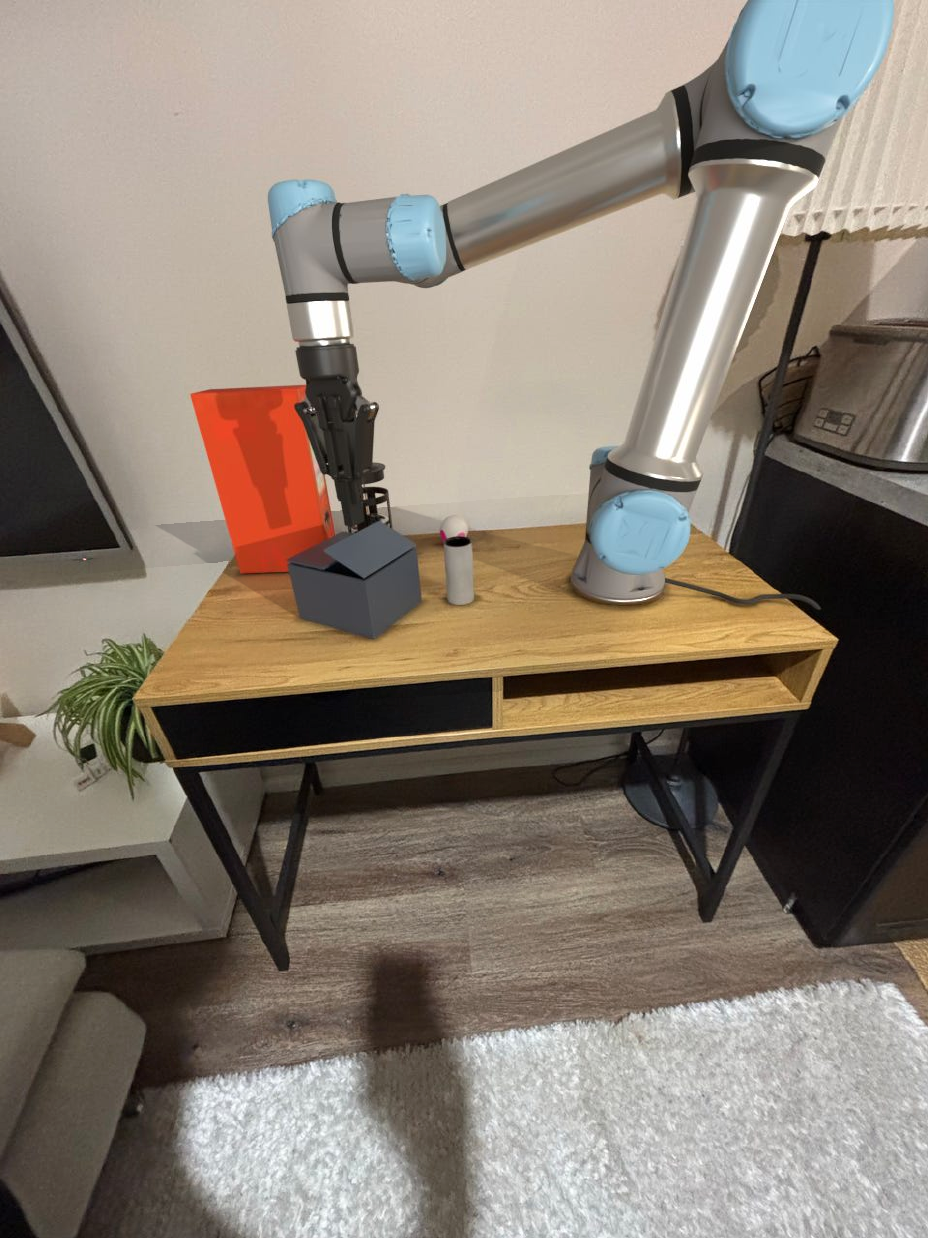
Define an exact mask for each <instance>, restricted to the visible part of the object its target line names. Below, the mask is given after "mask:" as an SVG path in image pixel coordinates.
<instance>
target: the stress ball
mask: <svg viewBox="0 0 928 1238" xmlns="http://www.w3.org/2000/svg"><path fill="white" fill-rule="evenodd" d="M438 531H439V536H440V538H441V540H442V541H443V542H444V541H445V540H446V539H447V538H450V537H455V536H463V537H468V534H469V525H468V523H467V521H466V519H464V518H463V516H461V515H455V514H454V515H449V516H447V517H446V518H444V519H443V520H442V521H441V522H440V525H439V530H438ZM443 542H439V543H437V545H440V544H443Z"/></svg>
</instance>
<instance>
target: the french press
mask: <svg viewBox="0 0 928 1238" xmlns="http://www.w3.org/2000/svg"><path fill="white" fill-rule="evenodd" d="M385 469H386V465H385V464H384V463H381V462H372V473H371V474H368V475H366V476H364V477H362V479H361V482H362V488H363V495H364V500H363V501H362V502H361V503H362V509H363V516H364V521H363V522H361V523H359V524H357V525H355V526H353V527H350V526H346V527H347V532H349V533H357V532H359V531H361V530H363V529H365V528H366V527H368V526H370V525H372V524H374V523H376V522H378V521H381V522H382V523H384V524H385V525H387V526H389V527H390V528H392V529H393V530H394V528H393V527H394V526H393V519H392V509H391V502H390V493H389V489H387V488H385V487H382V486H366V485H371V484H376V483H378V482H381V481H383V480H384V479H385V471H384V470H385ZM376 494H379V496H377V497H376ZM380 495H381V496H380ZM385 502H386V505H387V514H384V513H379V512H378V505H380V504H384V503H385ZM352 530H355V531H352Z"/></svg>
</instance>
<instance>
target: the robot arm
mask: <svg viewBox="0 0 928 1238" xmlns="http://www.w3.org/2000/svg"><path fill="white" fill-rule="evenodd" d="M894 18H895V0H747V1H746V3H745V4H744V6H743V7H742V8H741V10H740V11H739V14H738V17H737V19H736V21H735V23H734V24H733V27H732V29H731V32H730V36H729V37H728V40H727V41H726V43H725V45H724V47H723V49H722V51H721V52H720V54H719V56H718V58H717V59H716V60H715V61H714V62H713V63H712V64H711V65H710V66H709V67H708V68H706V69H705V70H704V71H703V72H702V73H700V74H699V75H697V76H695V77H694V78H693V79H691V80H689V81H688V82H686V83H684V84H682V85H680V86H678V87H675V88H673V89H671V90H668V91H666V92H665V93H664V95H663V97H662V99H661V101H660V103H659V105H658V106H657V108H656V109H654V110H652V111H650V112H648V113H645V114H643V115H641V116H638V117H636V118H634V119H632V120H630V121H628V122H625V123H623V124H621V125H619V126H616V127H614V128H612V129H609V130H607V131H604V132H603V133H600V134H598V135H595V136H593V137H590V138H589V139H587V140H584V141H582V142H580V143H578V144H575V145H573V146H570V147H568V148H566V149H564V150H562V151H559V152H557V153H555V154H553V155H550V156H549V157H546V158H544V159H541V160H539V161H537V162H535V163H533V164H531V165H528V166H526V167H524V168H521V169H519V170H517V171H514V172H512V173H510V174H507V175H506V176H503V177H500V178H498V179H497V180H493V181H492V182H489V183H488V184H485V185H483V186H480V187H479V188H476V189H474V190H472V191H469V192H467V193H465V194H462V195H460V196H458V197H456V198H453V199H452V200H449V201H447V202H446V203H443V204H441V205H440V203H439V201H438V200H437V199H436V198H435V197H434V196H432V195H430V194H409V193H401V194H400V195H398V196H390V197H384V198H376V199H375V198H374V199H366V200H360V201H359V200H358V201H353V202H351V201H350V202H339V201H338V200H337V199H336V196H335V195H336V193H335V190H334V188H333V187H332V186H331V185H330V184H329V183H327V182H324V181H321V180H317V179H288V180H287V179H286V180H281V181H278V182H276V183H274V184H273V185H272V186H271V187H270V188H269V189H268V192H267V204H268V212H269V219H270V226H271V239H272V241H273V242H274V246H275V252H276V257H277V261H278V266H279V270H280V271H279V272H280V275H281V281H282V286H283V291H284V295H285V296H284V297H285V303H286V309H287V314H288V320H289V325H290V327H289V328H290V333H291V338H292V340H293V341H294V342H295V343H297V344H298V347H297V346H296V350H294V352H295V357H296V362H297V367H298V368H297V369H298V372H299V376H300V378H301V379H302V380H305V385H306V389H305V394H306V397H305V398H304V399H303V401H302V402H299V403H295V405H294V408H295V411H296V412H297V414H298V415H299V417H300V418H301V420H302V421H303V424H304V427H305V430H306V433H307V435H308V438H309V441H310V444H311V446H312V449H313V452H314V455H315V457H316V460H317V463H318V466H319V468H320V471H321V473H322V474H323V475H325V476H326V475H327V476H329V477H330V478H331V479H332V481H333V483H334V489H335V493H336V494H335V495H336V499H337V501H338V502H340V506H341V511H342V512H341V513H342V519H343V523H344V526H345V527H347V526H350V527H353V526H355V525H357V524H359V523H361V522H363V521H364V516H363V509H362V503H361V502H362V501H363V500H365V494H363V488H362V487H363V485H362V482H361V479H362V477H364V476H366V475H368V474H371V473H372V462H373V459H374V441H375V440H374V439H375V424H376V423H375V421H376V418H377V416H378V413H379V411H380V405H379V404H378V402H376V401H372V402H370V401H369V400H368V399H367V398H365V397H364V396H363V391H362V389H361V386H360V385H359V382H358V376H359V373H360V366H359V360H358V359H359V358H358V353H357V346H356V345H355V344H354V343H351V339H353V338H354V336H355V333H354V327H353V319H352V311H351V304H350V295H349V285H357V284H358V285H359V284H366V283H369V284H370V283H386V282H387V283H389V282H395V283H401V284H407V285H413V286H415V287H417V288H421V289H430V288H433V287H434V288H435V287H438V286H440V285H442V284H443V283H445V282H446V281H447V280H448V279H449V278H451V277H453V276H456V275H457V274H461V273H462V272H465V271H467V270H469V269H472V268H475V267H477V266H480V265H482V264H485V263H488V262H490V261H494V260H495V259H498V258H500V257H503V256H506V255H508V254H511V253H513V252H517V251H518V250H521V249H524V248H526V247H528V246H531V245H534V244H537V243H539V242H542V241H544V240H547V239H549V238H552V237H555V236H557V235H559V234H562V233H565V232H567V231H570V230H573V229H575V228H578V227H579V226H582V225H585V224H588V223H591V222H593V221H595V220H597V219H598V220H599V219H600V218H603V217H606V216H608V215H611V214H613V213H617V212H619V211H621V210H623V209H627V208H629V207H631V206H633V205H636V204H637V205H638V204H640V203H642V202H644V201H647V200H649V199H652V198H654V197H657V196H659V195H662V194H663V195H666V196H667V197H668V198H670V199H672V201H673V200H677V199H680V198H683V197H685V196H687V195H690V194H694V193H695V197H696V201H695V205H694V208H693V211H692V213H691V217H690V221H689V225H688V227H687V231H686V235H685V238H684V240H683V244H682V248H681V251H680V254H679V257H678V262H677V265H676V268H675V271H674V275H673V279H672V281H671V285H670V288H669V291H668V295H667V298H666V300H665V301H666V302H665V304H664V309H663V312H662V314H661V318H660V322H659V325H658V329H657V332H656V335H655V338H654V342H653V346H652V349H651V352H650V355H649V359H648V362H647V366H646V368H645V372H644V375H643V379H642V381H641V385H640V389H639V392H638V395H637V399H636V403H635V406H634V409H633V412H632V416H631V419H630V422H629V427H628V429H627V432H626V436H625V439H624V441H623V443H621V444H620V445H608V446H601V447H598V448H597V447H596V448H595V450H594V451H593V452H592V454H591V459H590V460H591V461H590V464H589V466H588V467H589V468H588V469H589V470H590V471H589V485H588V495H587V496H588V497H587V507H586V508H587V510H586V521H585V533H584V542H583V544H582V547H581V549H580V551H579V553H578V556H577V558H576V561H575V563H574V565H573V568H572V571H571V573H570V574H571V575H570V586H571V588H572V589H571V590H572V591H574V593H575V594H577V595H579V596H580V597H581V598H583V599H585V600H588V601H590V602H593V603H596V604H600V605H604V606H610V607H621V608H623V607H624V608H626V607H627V608H629V607H639V606H644V605H648V604H651V603H653V602H655V601H657V600H659V599H660V598H661V597H662V596H663V595H664V592H665V587H666V584H669V585H672V586H677V587H681V588H684V589H688V590H693V591H696V592H700V593H704V594H707V595H711V596H715V597H718V598H721V599H724V600H726V601H729V602H731V603H734V604H739V605H752V604H755V603H757V602H759V601H762V600H783V599H784V600H785V599H786V600H798V601H802V602H804V603H806V604H808V605H809V606H811V607H812V608H813V609H815V610H821V609H822V608H821V606H820V605H819V604H818V603H817V602H816V601H815V600H813V599H812V598H810V597H808V596H805V595H800V594H797V593H766V594H765V593H764V594H759V595H756V596H754V597H751V598H748V599H746V598H745V599H743V598H737V597H734V596H732V595H729V594H726V593H724V592H721V591H717V590H715V589H712V588H711V589H710V588H708V587H703V586H700V585H695V584H691V583H688V582H684V581H680V580H675V579H671V578H667V577H666V575H665V571H664V569H666V568H667V567H669V566H670V565H672V564H673V563H674V562H675V561H676V560H678V559H679V558H680V557H681V555H683V553H684V551H685V549H686V548H687V546H688V544H689V540H690V537H691V529H692V526H691V524H692V521H691V517H690V514H689V513H690V510H691V507H692V505H693V502H694V499H695V497H696V495H697V492H698V490H699V487H700V484H701V482H702V479H703V476H704V472H703V471H702V469H701V467H700V465H699V463H698V461H697V455H698V453H699V450H700V447H701V444H702V442H703V439H704V436H705V434H706V431H707V429H708V426H709V423H710V421H711V418H712V415H713V412H714V410H715V408H716V404H717V402H718V399H719V396H720V394H721V391H722V388H723V386H724V383H725V381H726V378H727V376H728V373H729V370H730V367H731V365H732V362H733V359H734V357H735V354H736V351H737V349H738V347H739V343H740V341H741V338H742V336H743V332H744V330H745V327H746V324H747V322H748V320H749V317H750V314H751V311H752V309H753V306H754V303H755V300H756V298H757V295H758V292H759V290H760V288H761V284H762V282H763V279H764V276H765V274H766V271H767V269H768V266H769V263H770V261H771V258H772V255H773V253H774V250H775V247H776V245H777V242H778V239H779V237H780V234H781V233H782V232H781V231H782V229H783V226H784V223H785V222H786V219H787V216H788V213H789V210H790V208H791V207H792V206H793V205H794V204H795V203H796V202H798V200H800V199H801V198H802V197H803V196H805V195H806V194H808V193H809V192H811V191H812V190H813V189H815V188H816V186H817V185H818V181H819V179H820V177H821V174H822V171H823V169H824V166H825V164H826V161H827V159H828V156H829V155H830V152H831V149H832V147H833V144H834V141H835V139H836V136H837V134H838V131H839V128H840V126H841V124H842V121H843V118H844V117H845V116H846V115H847V114H848V113H849V112H850V111H851V110H852V109H853V107H855V105H857V103H858V102H859V101H860V99H861V97H862V96H863V94H864V93H865V92H866V91H867V90H868V87H869V85H870V83H871V82H872V81H873V79H874V77H875V76H876V74H877V72H878V70H879V68H880V66H881V64H882V61H883V60H884V57H885V55H886V52H887V49H888V46H889V43H890V39H891V36H892V31H893V26H894Z"/></svg>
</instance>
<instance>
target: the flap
mask: <svg viewBox="0 0 928 1238" xmlns="http://www.w3.org/2000/svg"><path fill="white" fill-rule="evenodd" d="M416 546H417V544H416V542H414V541H412V540H411V539H409V538H407V537H405V536H404V535H403V534H401V533H400V532H398V531H396V530H395V529H394V528H393V529H392V528H390V526H389V525H385V524H384V523H382V522H381V521H378V522H376V523H374V524H372V525H370V526H368V527H366V528H365V529H363V530H361V531H359V532H357V533H355V534H353V535H351V536H349V537H347V538H345V539H343V540H341V541H339V542H337V543H336V544H334V545H332V546H330V547H328V548H326V549H324V552H325V553H327V554H328V555H330V556H331V557H333V558H334V559H336V560H337V561H339V562H340V563H342V564H343V565H345V566H346V567H348V568H349V569H351V570H352V571H354V572H355V573H356V574H358V575H359V576H361V577H362V578H366V577H367V576H369V575H370V574H372V573H373V572H375V571H377V570H378V569H380V568H381V567H383V566H385V565H386V564H388V563H389V562H391V561H392V560H394V559H396V558H397V557H399V556H400V555H402V554H403V553H405V552H407V551H408V550H410V549H411V548H415V547H416Z"/></svg>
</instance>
